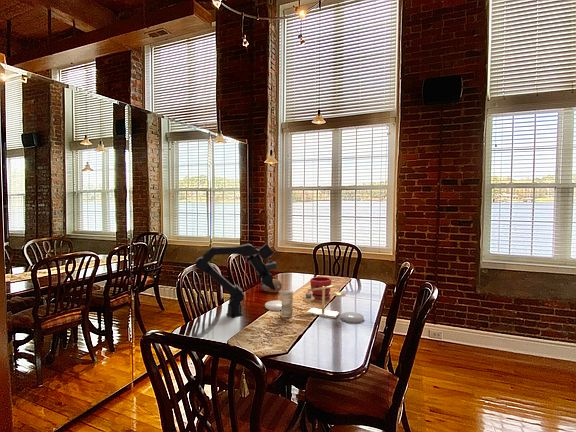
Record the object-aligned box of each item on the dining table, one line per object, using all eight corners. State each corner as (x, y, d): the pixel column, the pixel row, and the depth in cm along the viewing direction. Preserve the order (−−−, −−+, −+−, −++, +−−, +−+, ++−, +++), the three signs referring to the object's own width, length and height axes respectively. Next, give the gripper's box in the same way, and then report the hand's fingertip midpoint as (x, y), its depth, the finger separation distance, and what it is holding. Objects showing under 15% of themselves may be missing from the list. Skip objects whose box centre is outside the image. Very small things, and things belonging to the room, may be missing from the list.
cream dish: (276, 312, 193) (276, 310, 193) (260, 306, 203) (260, 304, 202) (294, 307, 203) (294, 304, 202) (277, 301, 212) (277, 299, 212)
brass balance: (300, 312, 193) (300, 281, 192) (304, 308, 199) (305, 279, 198) (343, 319, 183) (344, 287, 182) (346, 315, 190) (347, 284, 188)
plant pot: (330, 294, 228) (330, 276, 227) (331, 300, 215) (331, 281, 214) (310, 293, 229) (310, 275, 229) (309, 299, 216) (310, 280, 216)
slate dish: (355, 324, 176) (355, 321, 176) (335, 318, 185) (335, 315, 185) (368, 318, 185) (368, 316, 185) (349, 313, 193) (349, 310, 193)
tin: (260, 290, 236) (260, 278, 236) (263, 289, 239) (263, 277, 239) (280, 293, 229) (280, 280, 229) (282, 292, 232) (282, 279, 232)
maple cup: (286, 318, 184) (287, 294, 183) (278, 315, 188) (278, 291, 188) (295, 315, 188) (296, 291, 188) (287, 312, 193) (287, 289, 192)
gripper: (273, 259, 181) (288, 283, 183) (268, 253, 199) (282, 275, 202) (255, 271, 179) (271, 295, 182) (251, 264, 198) (266, 286, 200)
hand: (273, 287), depth 192 cm, fingers open, 9 cm apart
